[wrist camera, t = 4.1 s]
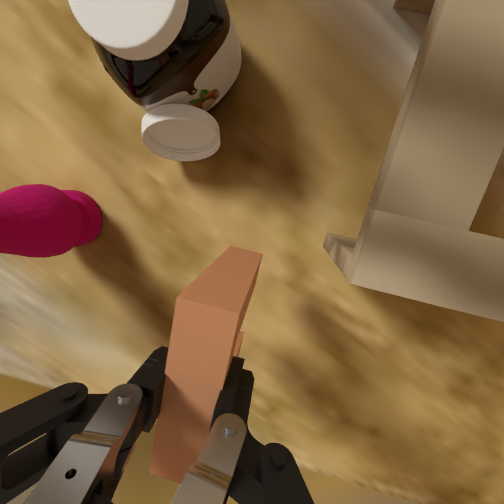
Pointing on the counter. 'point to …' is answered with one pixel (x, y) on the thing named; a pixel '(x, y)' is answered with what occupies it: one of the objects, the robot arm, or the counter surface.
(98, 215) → the pepper mill
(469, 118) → the beige hollow rectangular block
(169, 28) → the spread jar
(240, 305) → the orange notched plate
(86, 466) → the robot arm
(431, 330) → the counter surface
